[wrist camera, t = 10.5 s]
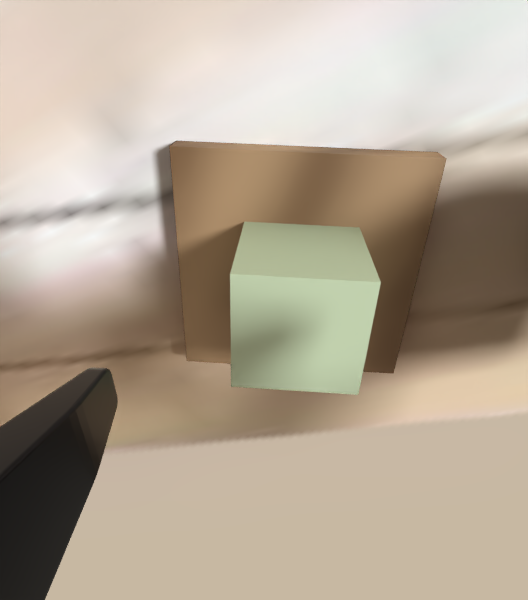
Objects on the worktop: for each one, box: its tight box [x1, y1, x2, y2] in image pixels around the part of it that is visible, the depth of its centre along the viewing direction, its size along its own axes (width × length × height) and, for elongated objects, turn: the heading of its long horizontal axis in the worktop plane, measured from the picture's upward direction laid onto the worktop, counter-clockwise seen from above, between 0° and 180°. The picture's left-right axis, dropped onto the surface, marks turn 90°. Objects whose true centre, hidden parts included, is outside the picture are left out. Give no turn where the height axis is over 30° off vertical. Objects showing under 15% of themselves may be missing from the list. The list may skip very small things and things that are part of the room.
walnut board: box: [169, 141, 446, 373], centre depth 20 cm, size 11×11×1 cm
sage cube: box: [230, 222, 381, 395], centre depth 17 cm, size 5×5×5 cm
